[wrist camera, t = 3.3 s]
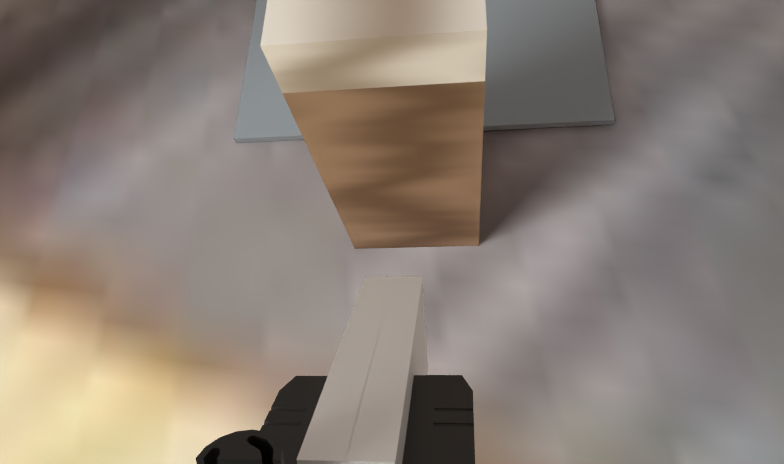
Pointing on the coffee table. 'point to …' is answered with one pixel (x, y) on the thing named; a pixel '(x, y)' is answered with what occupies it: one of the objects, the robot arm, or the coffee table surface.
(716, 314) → the coffee table surface
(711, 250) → the coffee table surface
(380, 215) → the block
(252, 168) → the coffee table surface
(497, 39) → the mat
